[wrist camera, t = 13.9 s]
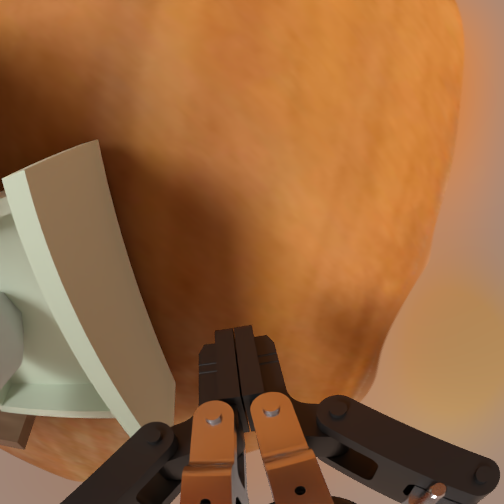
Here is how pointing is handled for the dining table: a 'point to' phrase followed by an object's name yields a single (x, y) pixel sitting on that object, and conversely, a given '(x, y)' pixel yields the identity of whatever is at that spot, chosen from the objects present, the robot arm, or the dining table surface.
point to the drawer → (77, 299)
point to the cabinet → (15, 429)
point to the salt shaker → (10, 339)
